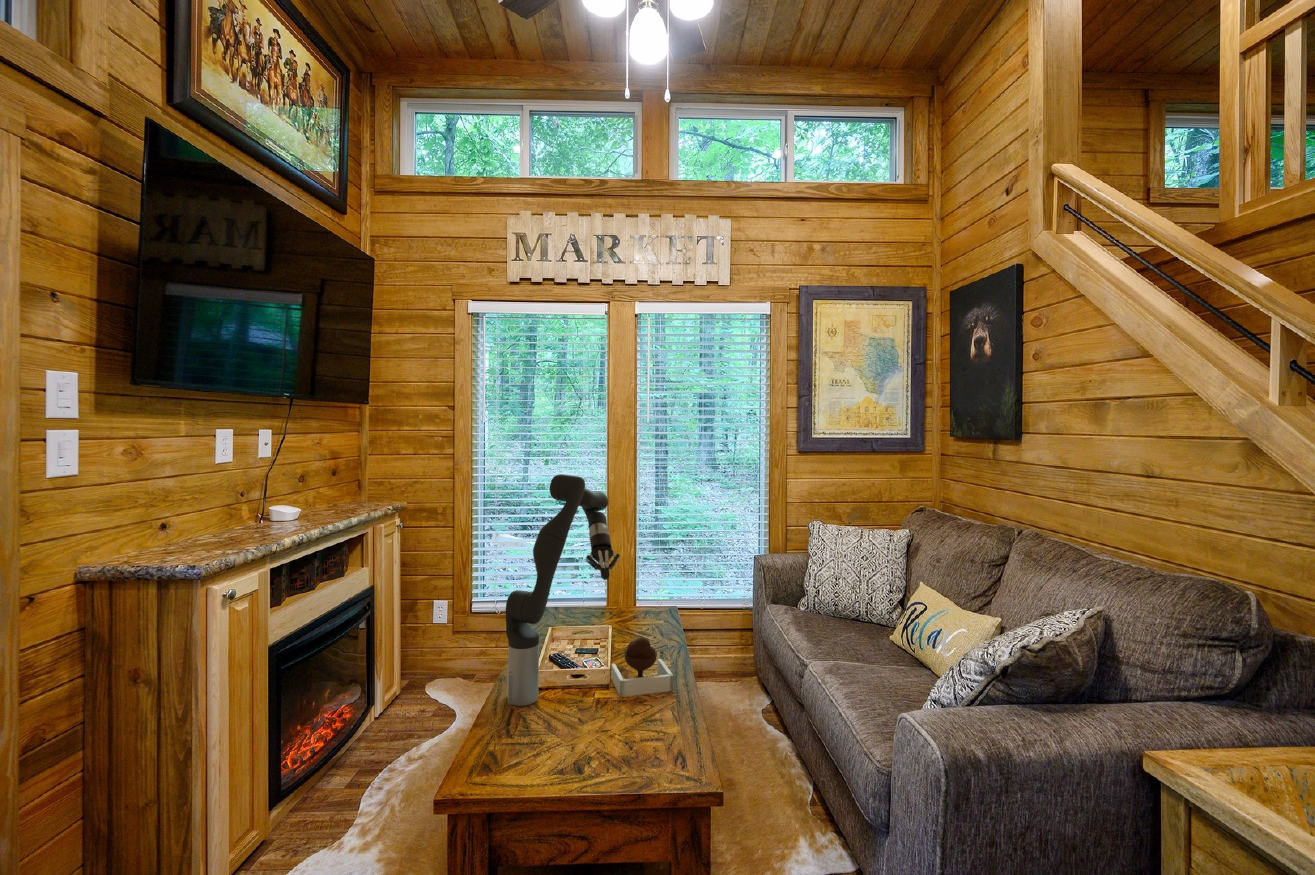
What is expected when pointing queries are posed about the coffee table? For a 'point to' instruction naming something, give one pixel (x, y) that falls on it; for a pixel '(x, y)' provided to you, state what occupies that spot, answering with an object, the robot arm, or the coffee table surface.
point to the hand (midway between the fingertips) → (605, 578)
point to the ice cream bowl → (640, 655)
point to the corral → (643, 682)
